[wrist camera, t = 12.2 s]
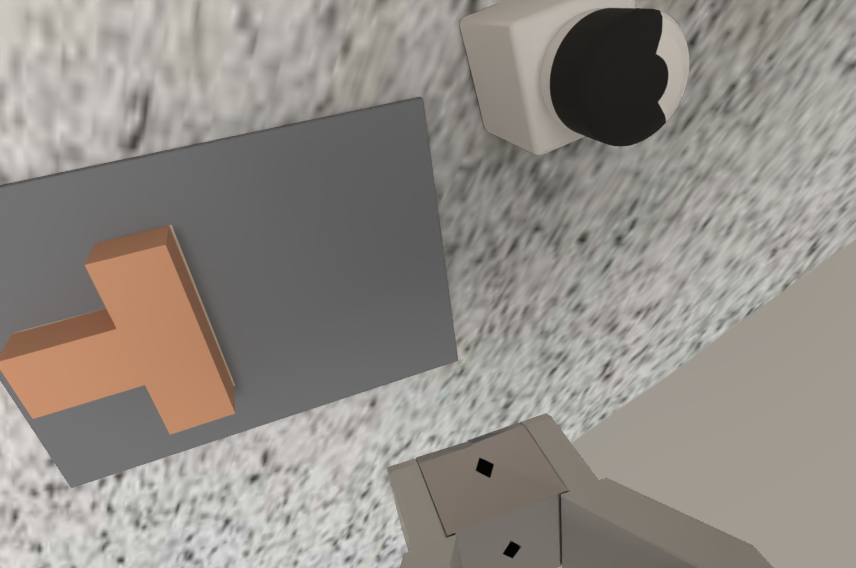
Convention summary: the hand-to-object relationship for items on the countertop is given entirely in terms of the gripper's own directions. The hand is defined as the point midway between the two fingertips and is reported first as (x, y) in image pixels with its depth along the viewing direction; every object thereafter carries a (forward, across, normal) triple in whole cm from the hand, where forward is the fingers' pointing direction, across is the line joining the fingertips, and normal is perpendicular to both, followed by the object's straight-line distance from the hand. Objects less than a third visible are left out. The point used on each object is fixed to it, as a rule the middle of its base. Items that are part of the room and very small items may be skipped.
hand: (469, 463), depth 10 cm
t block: (+26, +14, +10) cm, 31 cm away
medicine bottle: (+28, -14, -1) cm, 32 cm away
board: (+27, +7, +10) cm, 29 cm away
